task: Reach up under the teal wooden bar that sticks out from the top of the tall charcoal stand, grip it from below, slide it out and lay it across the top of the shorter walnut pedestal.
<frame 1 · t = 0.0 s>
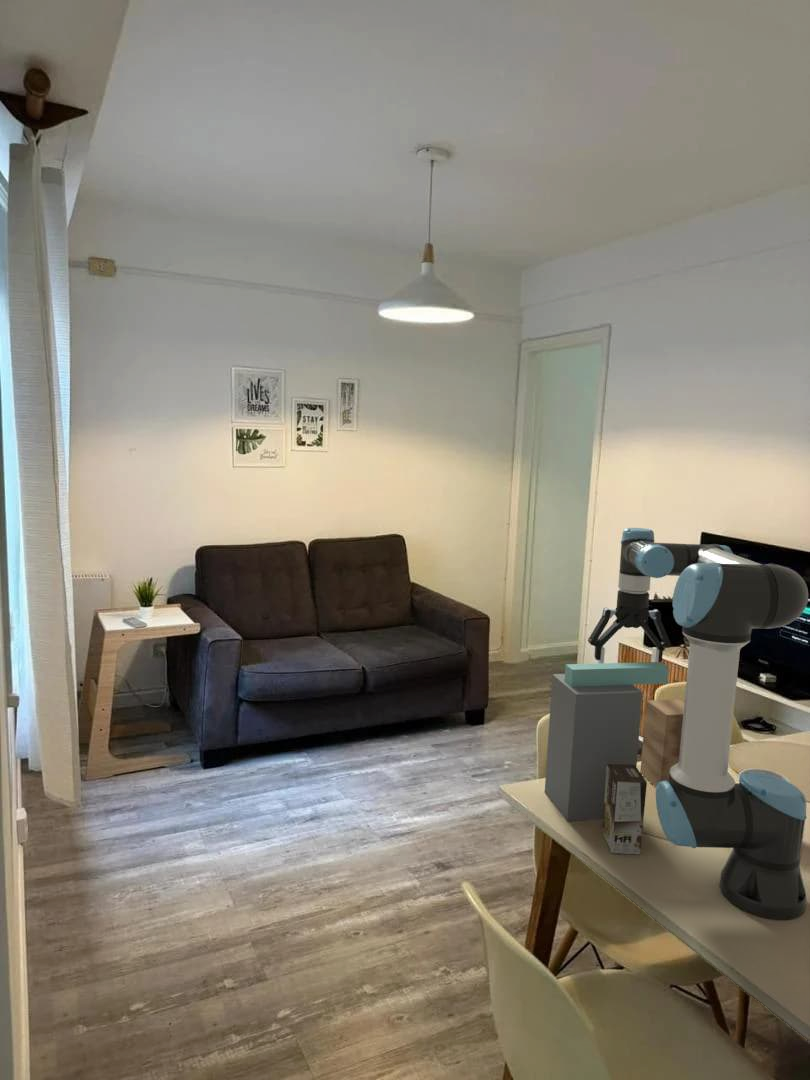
hand: (626, 673, 192), 28 cm above the table, tool pointing down, fingers open, 13 cm apart
walnut pedestal: (667, 781, 195), on the table
plastic cup: (758, 828, 173), on the table
coffee box: (620, 843, 165), on the table
tall stand: (587, 804, 182), on the table
teal bar: (616, 682, 178), point 30 cm above the table, touching tall stand
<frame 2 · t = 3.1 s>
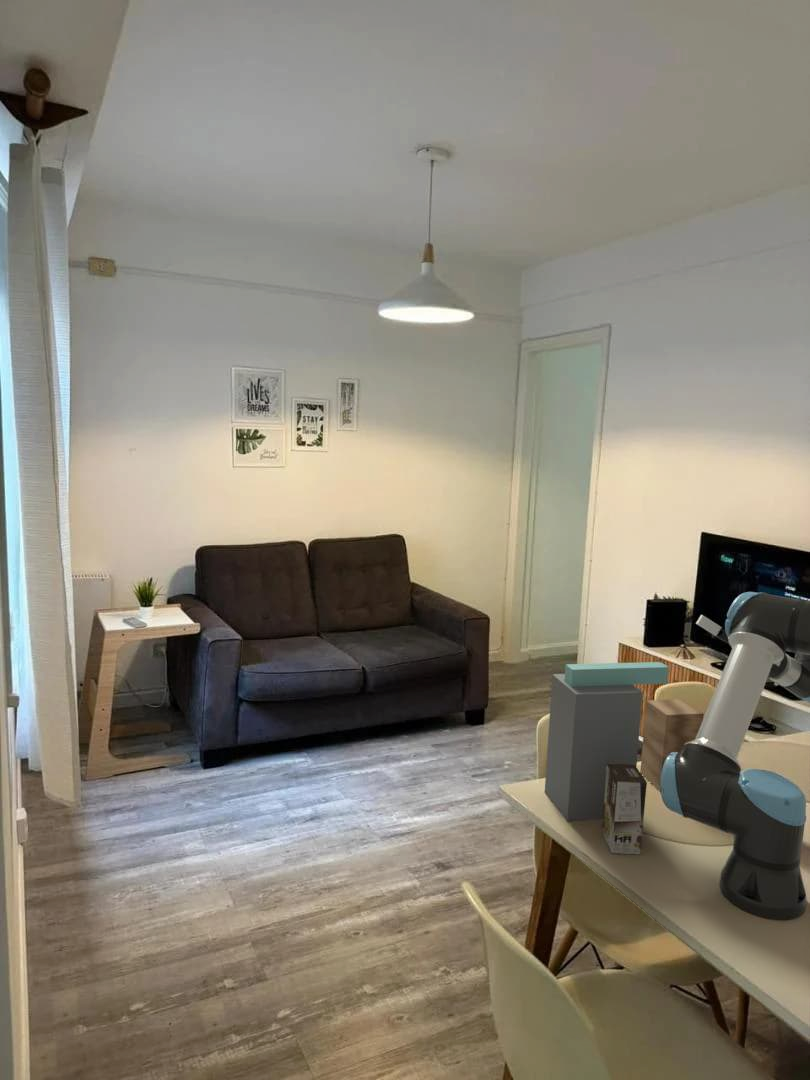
hand: (714, 626, 188), 41 cm above the table, tool pointing upward, fingers open, 13 cm apart
nothing on the table moved.
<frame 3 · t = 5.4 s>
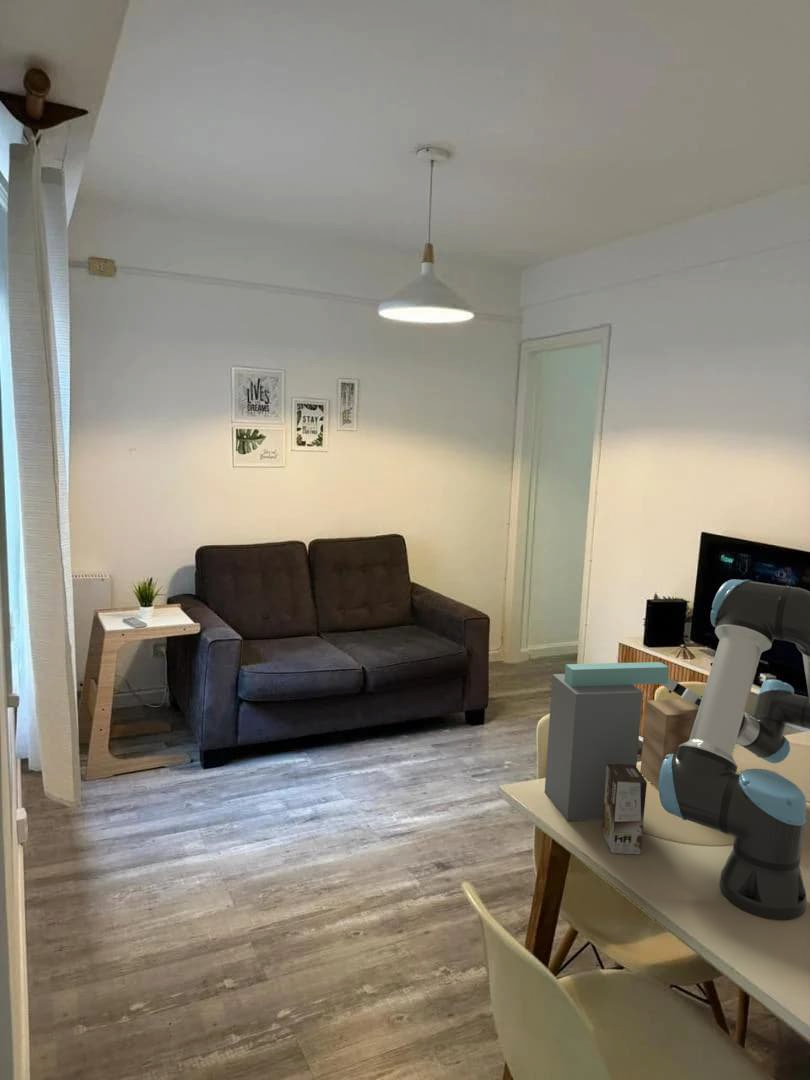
hand: (669, 683, 181), 29 cm above the table, tool pointing upward, fingers open, 13 cm apart
nothing on the table moved.
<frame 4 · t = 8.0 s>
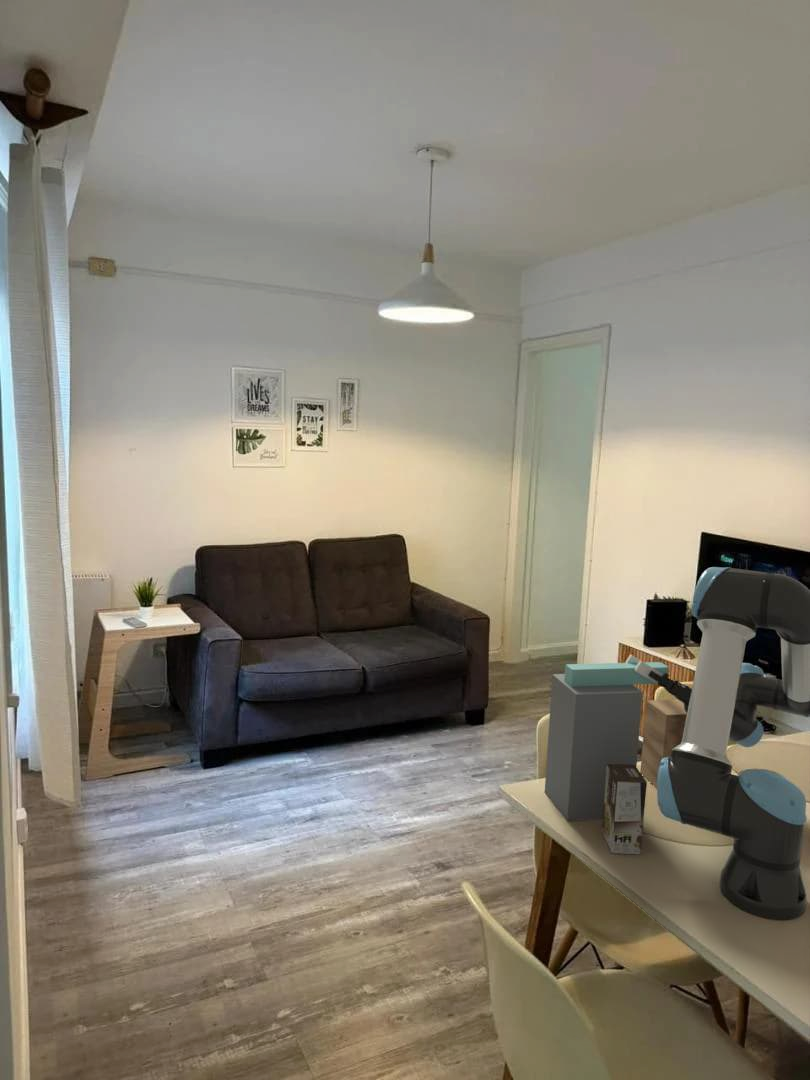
hand: (633, 662, 178), 35 cm above the table, tool pointing upward, fingers closed on teal bar, 4 cm apart
teal bar: (616, 682, 178), point 30 cm above the table, touching gripper, tall stand
everything else where it was.
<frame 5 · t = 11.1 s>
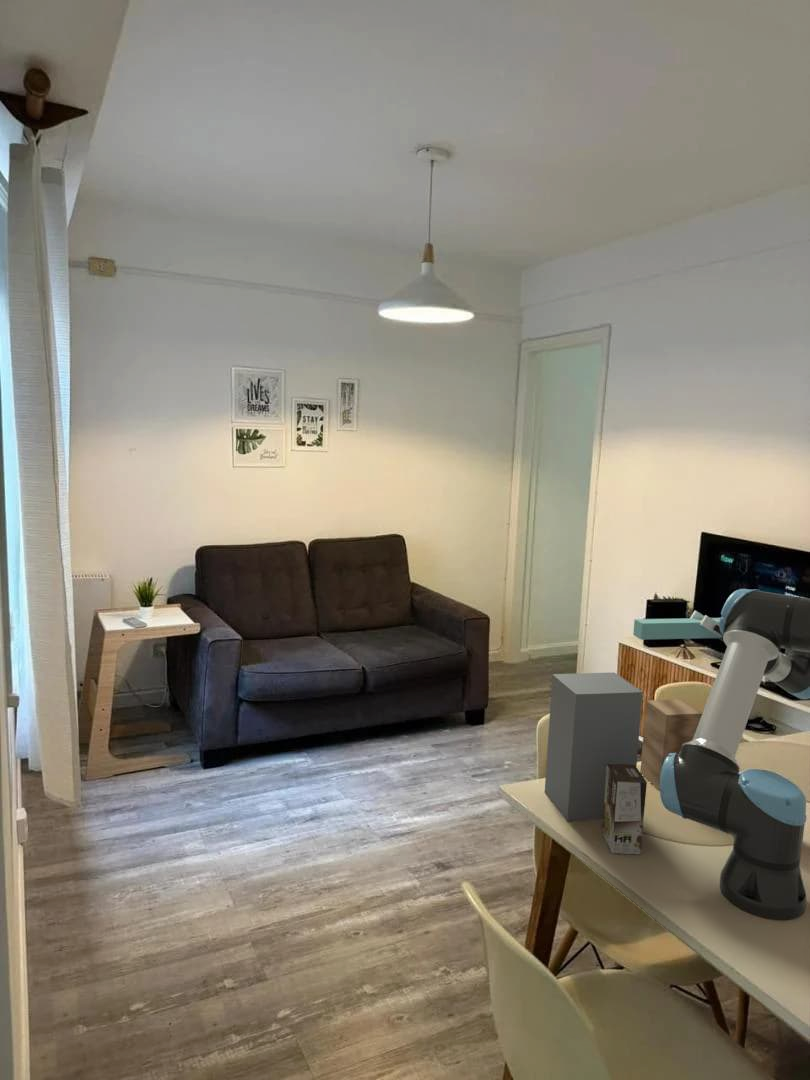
hand: (698, 617, 189), 43 cm above the table, tool pointing upward, fingers closed on teal bar, 4 cm apart
teal bar: (682, 636, 189), point 39 cm above the table, touching gripper
everything else where it was.
when the fingers open (26 cm above the table, at t = 14.6 s): teal bar drops 1 cm, resting on walnut pedestal.
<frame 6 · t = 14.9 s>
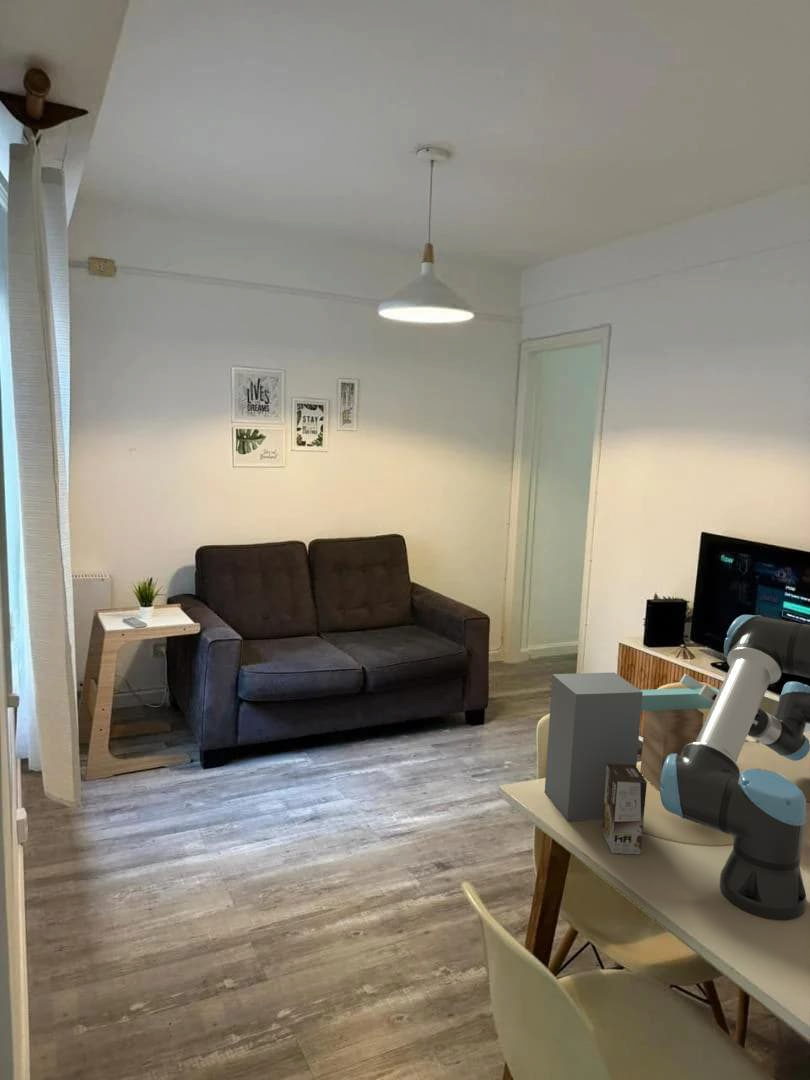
hand: (692, 683, 192), 26 cm above the table, tool pointing upward, fingers open, 8 cm apart
teal bar: (674, 706, 192), point 20 cm above the table, touching walnut pedestal
everything else where it was.
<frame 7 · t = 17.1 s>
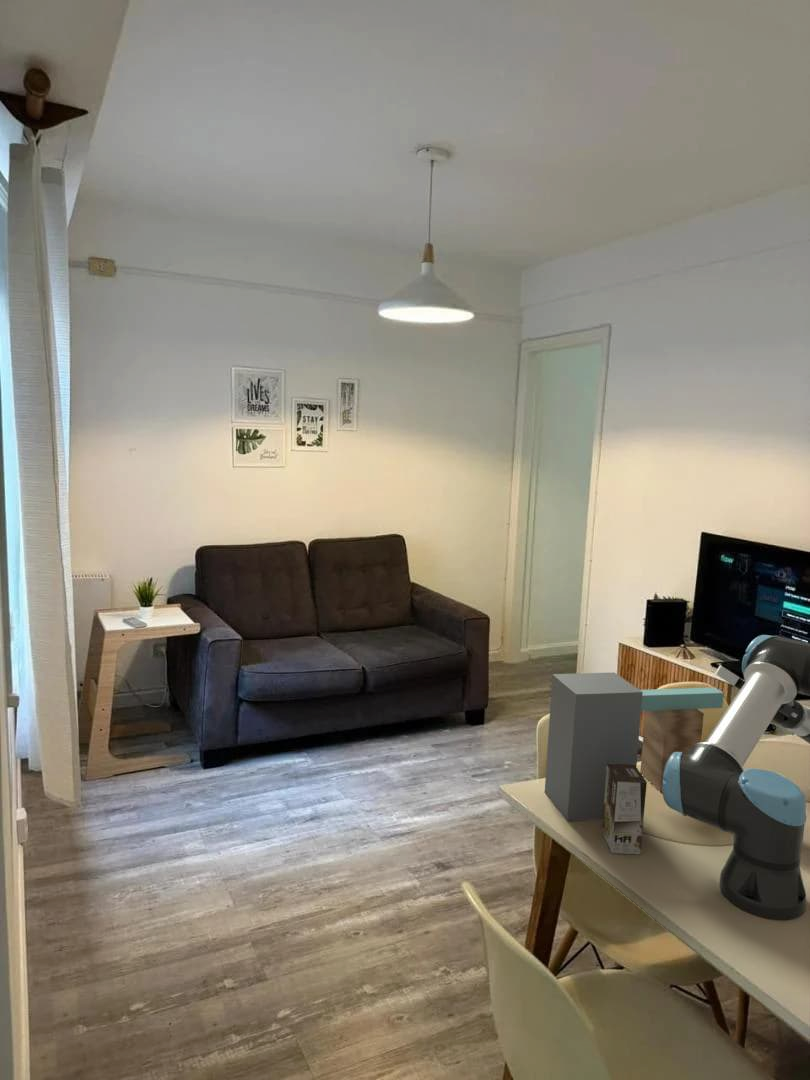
hand: (733, 677, 194), 27 cm above the table, tool pointing upward, fingers open, 13 cm apart
nothing on the table moved.
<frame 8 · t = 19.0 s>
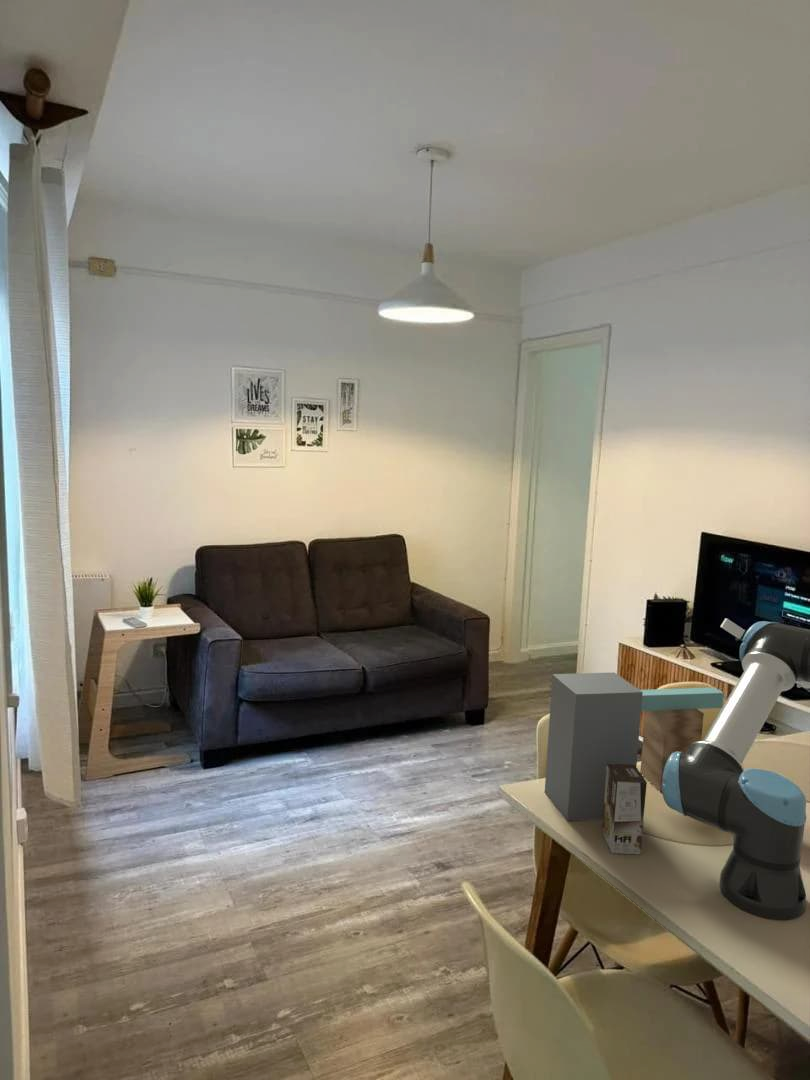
hand: (739, 629, 193), 40 cm above the table, tool pointing upward, fingers open, 13 cm apart
nothing on the table moved.
at the end: teal bar inside the target area on the walnut pedestal (0.1 cm from its centre), point 20.0 cm above the walnut pedestal's base; teal bar touching walnut pedestal; the gripper is holding nothing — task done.
